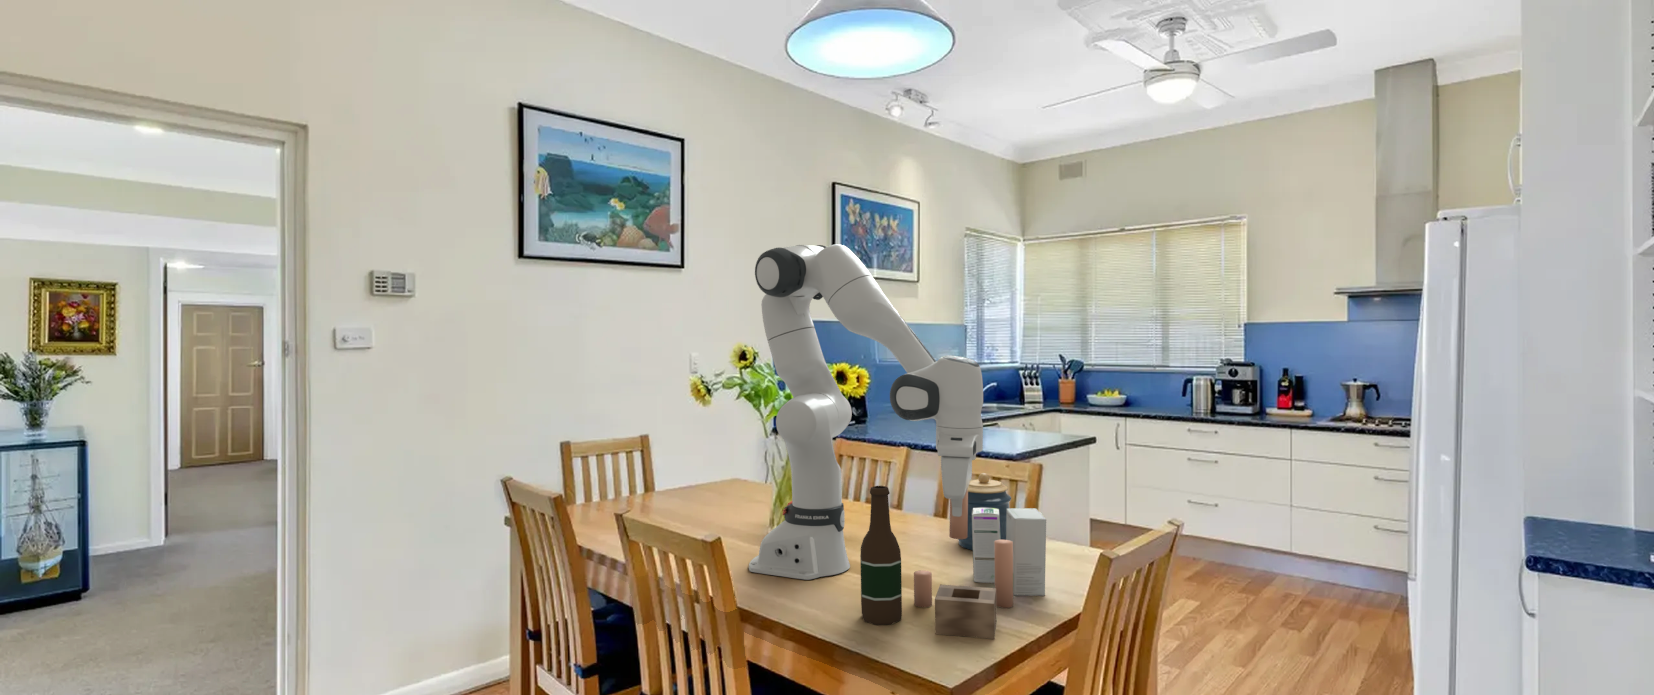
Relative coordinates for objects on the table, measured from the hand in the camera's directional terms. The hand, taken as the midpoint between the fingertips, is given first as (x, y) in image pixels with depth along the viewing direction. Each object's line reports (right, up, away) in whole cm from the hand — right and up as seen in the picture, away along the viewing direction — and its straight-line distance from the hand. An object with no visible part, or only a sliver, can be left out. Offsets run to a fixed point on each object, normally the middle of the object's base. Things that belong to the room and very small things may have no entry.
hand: (958, 512), depth 146 cm
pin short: (-7, -18, 0) cm, 19 cm away
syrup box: (+9, -17, +14) cm, 24 cm away
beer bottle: (-15, -18, -7) cm, 25 cm away
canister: (+13, -17, +40) cm, 45 cm away
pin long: (+9, -17, -1) cm, 19 cm away
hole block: (-1, -18, -12) cm, 21 cm away
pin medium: (0, -5, 0) cm, 5 cm away
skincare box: (+15, -17, +8) cm, 24 cm away
